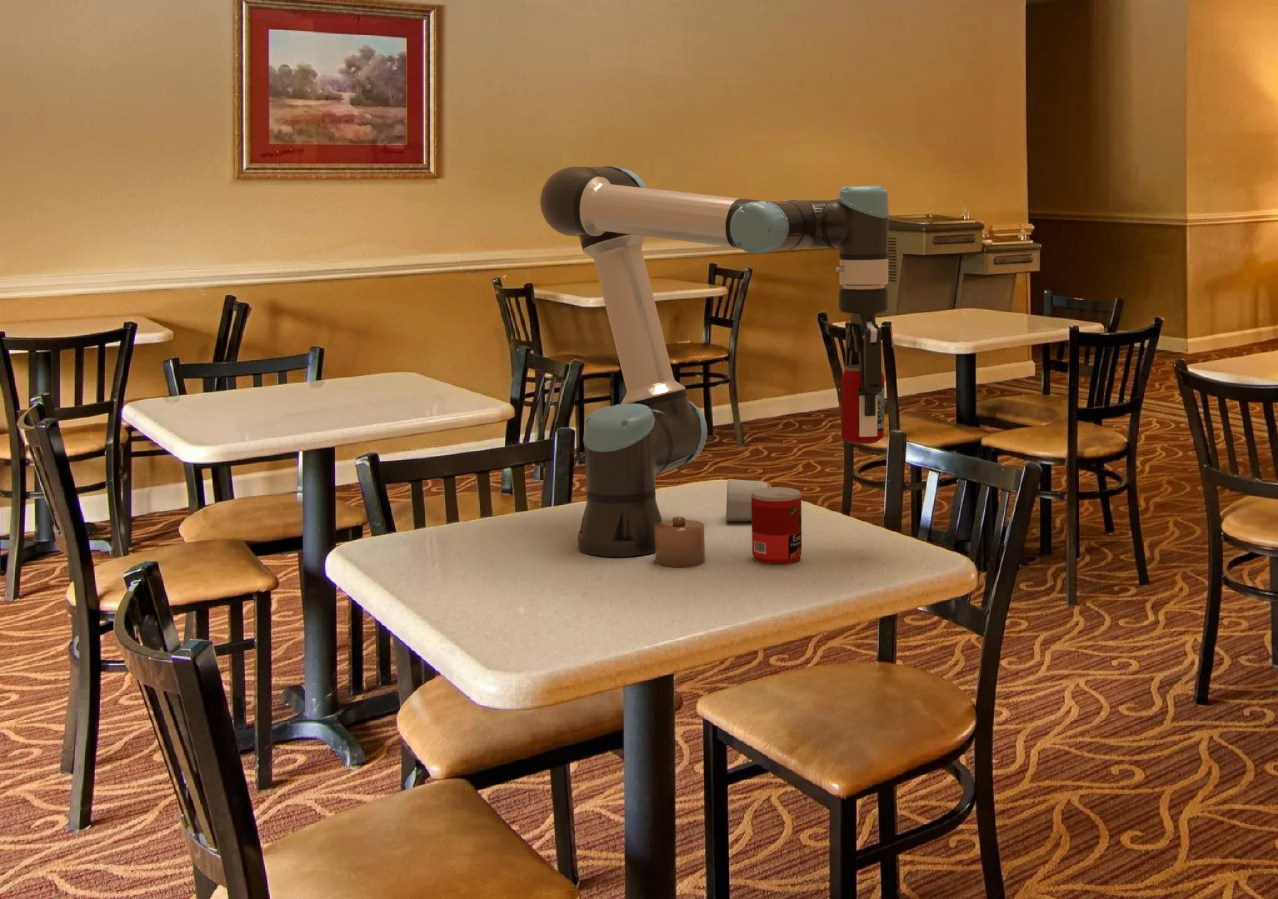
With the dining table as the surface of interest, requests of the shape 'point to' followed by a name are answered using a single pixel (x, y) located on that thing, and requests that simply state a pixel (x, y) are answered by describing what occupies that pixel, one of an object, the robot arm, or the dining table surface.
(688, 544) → the sugar bowl
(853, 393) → the beverage can
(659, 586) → the dining table surface
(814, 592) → the dining table surface
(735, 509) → the ceramic mug
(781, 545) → the canned food
